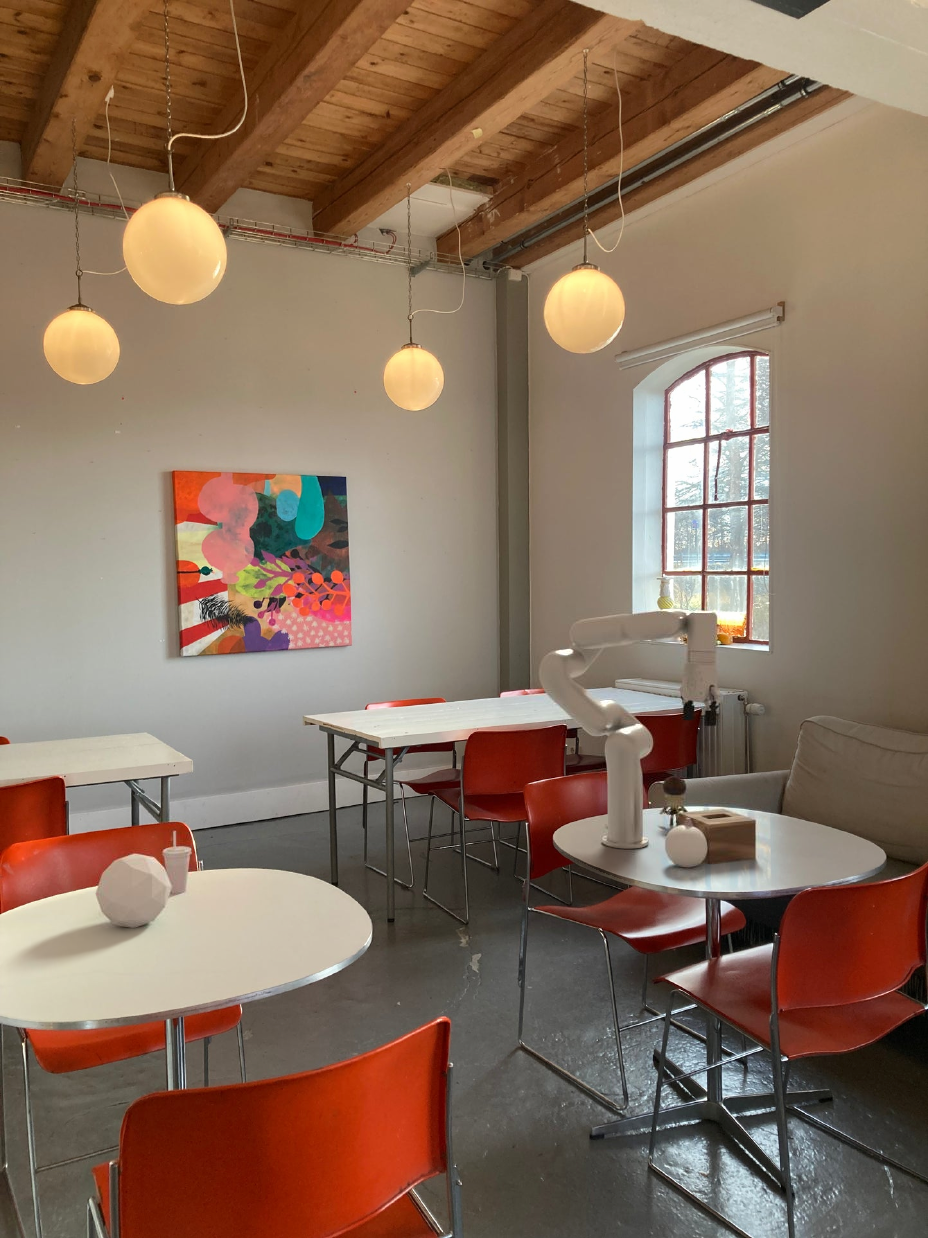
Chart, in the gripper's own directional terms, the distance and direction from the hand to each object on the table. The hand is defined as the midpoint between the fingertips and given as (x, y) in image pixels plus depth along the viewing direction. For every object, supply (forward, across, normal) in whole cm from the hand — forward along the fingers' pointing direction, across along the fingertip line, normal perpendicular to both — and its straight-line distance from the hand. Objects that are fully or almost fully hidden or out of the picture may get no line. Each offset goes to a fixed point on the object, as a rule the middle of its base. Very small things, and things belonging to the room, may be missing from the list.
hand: (699, 722), depth 240 cm
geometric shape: (+38, +3, -139) cm, 144 cm away
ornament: (+35, +9, -9) cm, 37 cm away
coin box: (+34, +3, +5) cm, 35 cm away
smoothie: (+38, -16, -130) cm, 136 cm away
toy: (+35, -28, +12) cm, 47 cm away
